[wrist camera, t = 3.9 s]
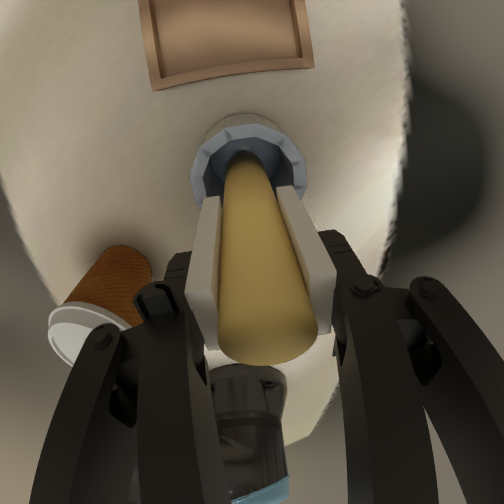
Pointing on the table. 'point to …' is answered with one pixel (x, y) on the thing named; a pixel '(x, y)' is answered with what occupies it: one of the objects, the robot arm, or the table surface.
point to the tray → (222, 38)
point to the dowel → (259, 274)
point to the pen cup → (246, 140)
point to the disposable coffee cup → (100, 300)
